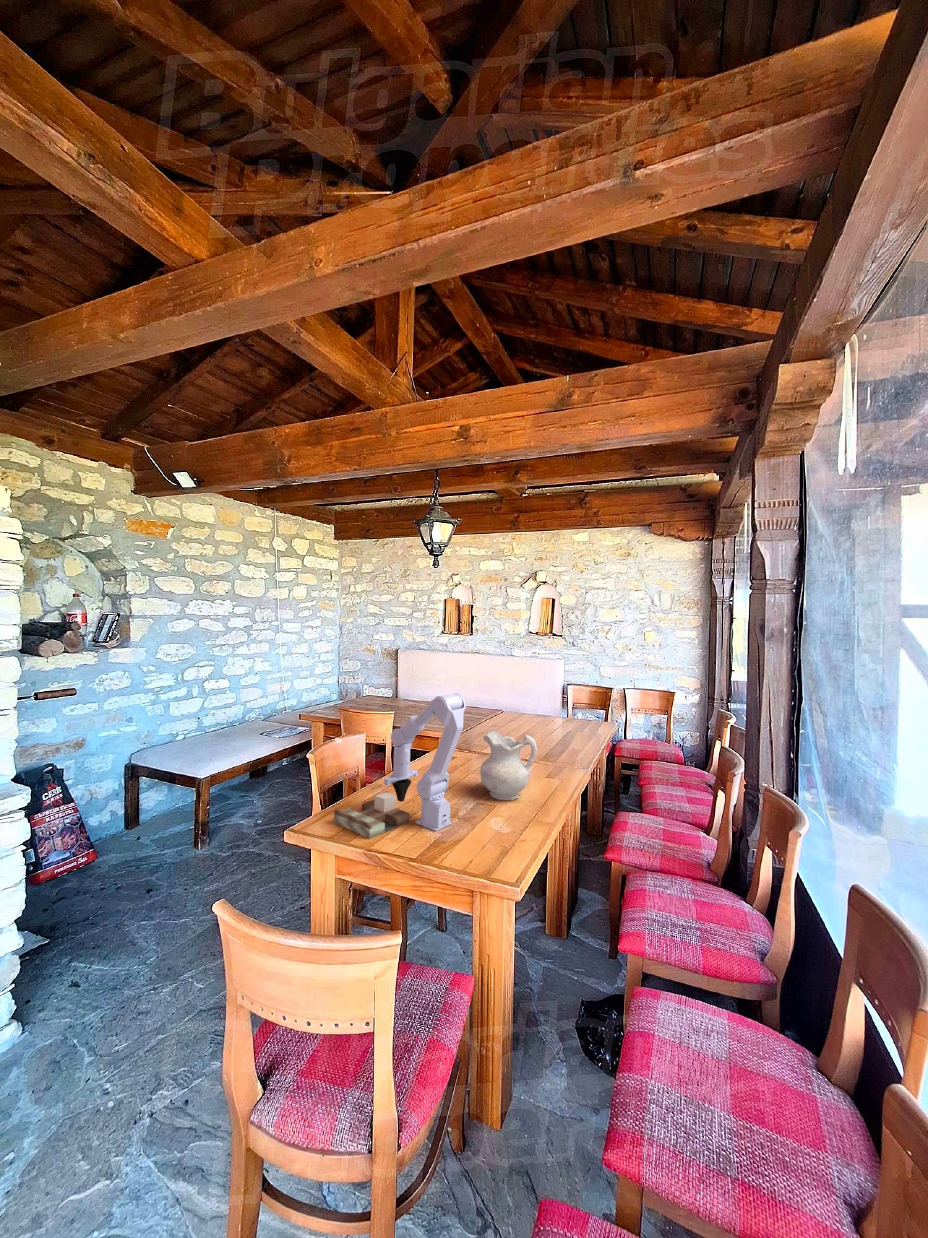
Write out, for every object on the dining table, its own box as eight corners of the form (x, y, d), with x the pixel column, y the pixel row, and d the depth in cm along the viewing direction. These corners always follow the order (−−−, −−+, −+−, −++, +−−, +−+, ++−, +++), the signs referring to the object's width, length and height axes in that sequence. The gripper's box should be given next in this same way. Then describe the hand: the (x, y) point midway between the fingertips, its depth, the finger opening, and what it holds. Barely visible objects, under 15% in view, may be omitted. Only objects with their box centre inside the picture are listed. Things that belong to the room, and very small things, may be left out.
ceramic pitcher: (534, 792, 198) (535, 730, 200) (536, 806, 179) (538, 737, 181) (481, 789, 200) (482, 727, 202) (478, 803, 181) (479, 734, 183)
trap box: (409, 822, 163) (409, 809, 163) (369, 839, 150) (370, 825, 150) (373, 808, 174) (374, 796, 174) (334, 822, 161) (334, 809, 161)
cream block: (395, 808, 167) (395, 795, 167) (384, 812, 163) (384, 799, 163) (385, 804, 170) (385, 791, 170) (374, 808, 166) (374, 795, 166)
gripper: (408, 755, 180) (407, 792, 180) (378, 764, 169) (377, 803, 169) (422, 759, 176) (421, 797, 176) (392, 768, 165) (391, 808, 164)
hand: (400, 800), depth 172 cm, fingers closed
